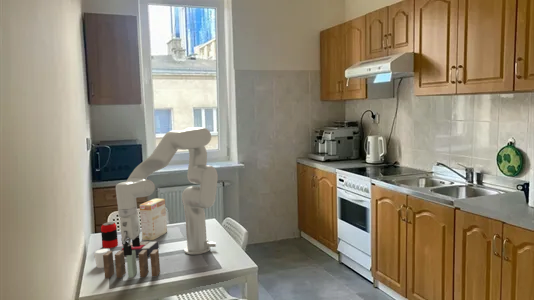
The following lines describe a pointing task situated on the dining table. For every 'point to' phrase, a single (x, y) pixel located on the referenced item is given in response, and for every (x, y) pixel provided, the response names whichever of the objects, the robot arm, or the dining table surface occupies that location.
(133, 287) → the dining table surface
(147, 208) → the coffeecake box
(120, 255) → the domino
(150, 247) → the black and red box
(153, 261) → the domino
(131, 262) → the domino
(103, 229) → the soda can
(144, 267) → the domino
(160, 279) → the dining table surface
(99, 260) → the white short cylinder
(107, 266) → the domino
